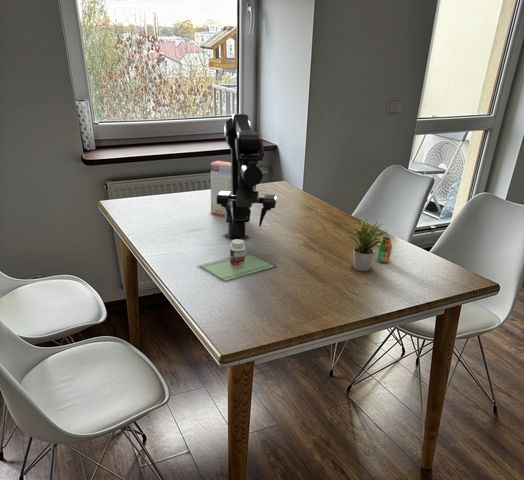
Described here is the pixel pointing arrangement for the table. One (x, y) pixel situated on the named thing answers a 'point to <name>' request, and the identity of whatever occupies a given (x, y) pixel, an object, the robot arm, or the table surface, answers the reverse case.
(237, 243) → the pill bottle
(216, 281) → the table surface
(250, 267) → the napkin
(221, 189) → the cracker box
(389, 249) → the colorful patterned jar
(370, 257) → the house plant
